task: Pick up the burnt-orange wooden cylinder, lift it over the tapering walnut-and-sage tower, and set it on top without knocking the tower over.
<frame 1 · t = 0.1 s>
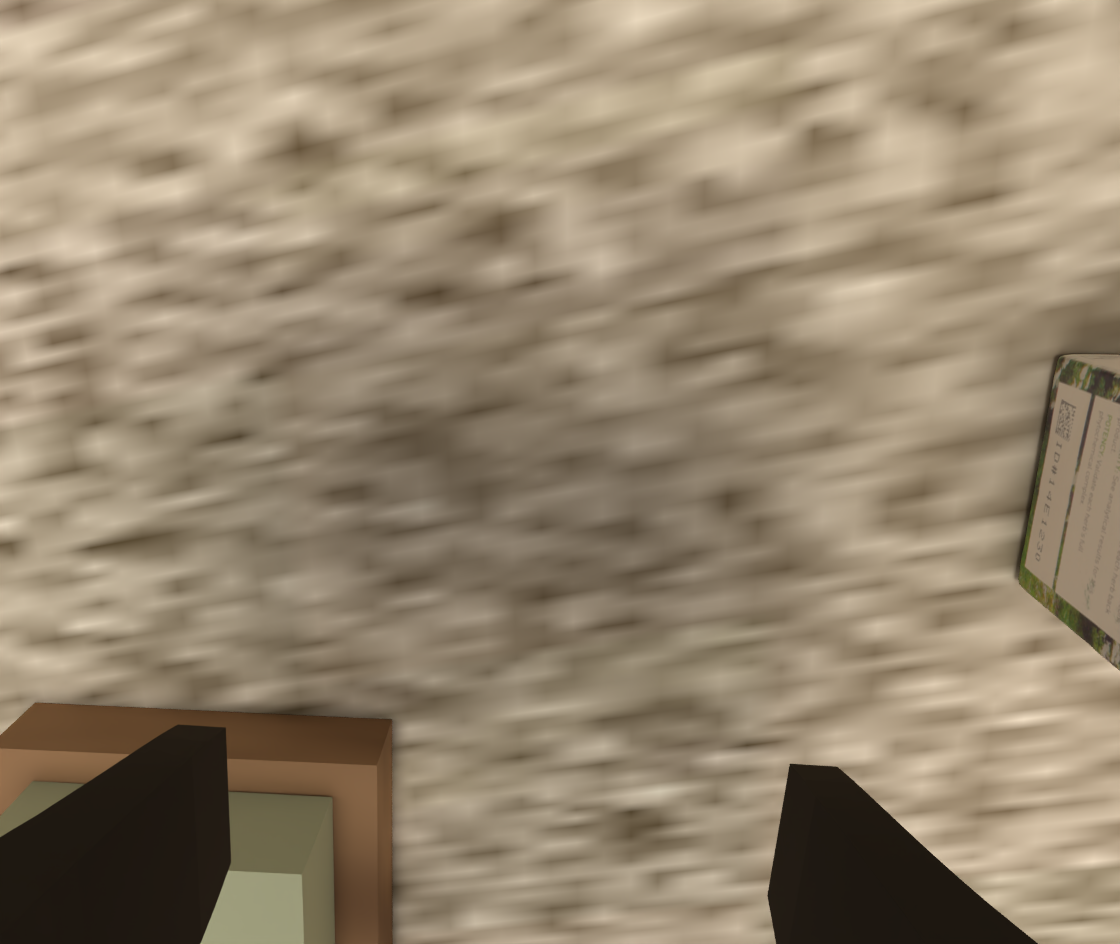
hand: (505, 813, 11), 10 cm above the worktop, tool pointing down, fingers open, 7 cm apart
walnut base block: (231, 844, 24), on the worktop, touching sage top block
sage top block: (192, 910, 22), point 2 cm above the worktop, touching walnut base block
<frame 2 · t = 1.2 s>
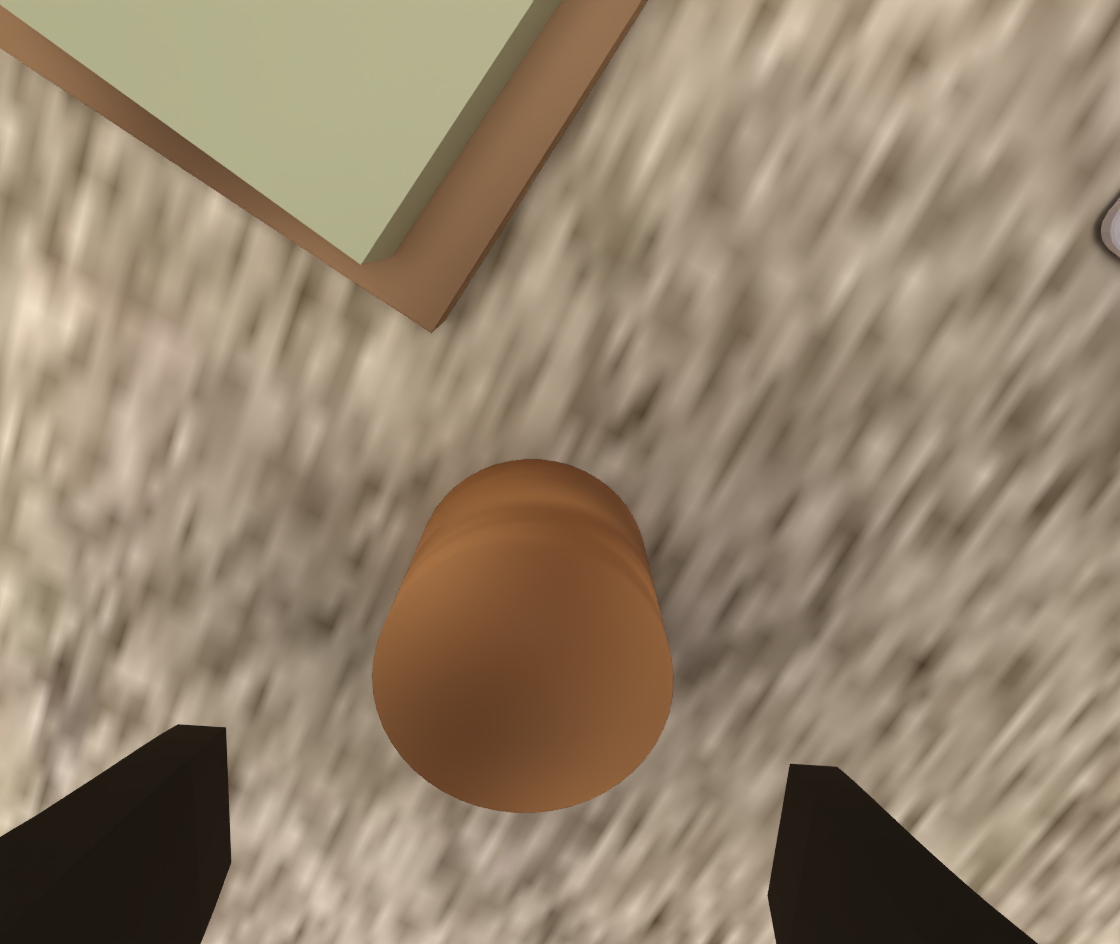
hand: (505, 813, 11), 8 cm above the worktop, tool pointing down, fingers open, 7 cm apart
orange cylinder: (532, 567, 19), on the worktop
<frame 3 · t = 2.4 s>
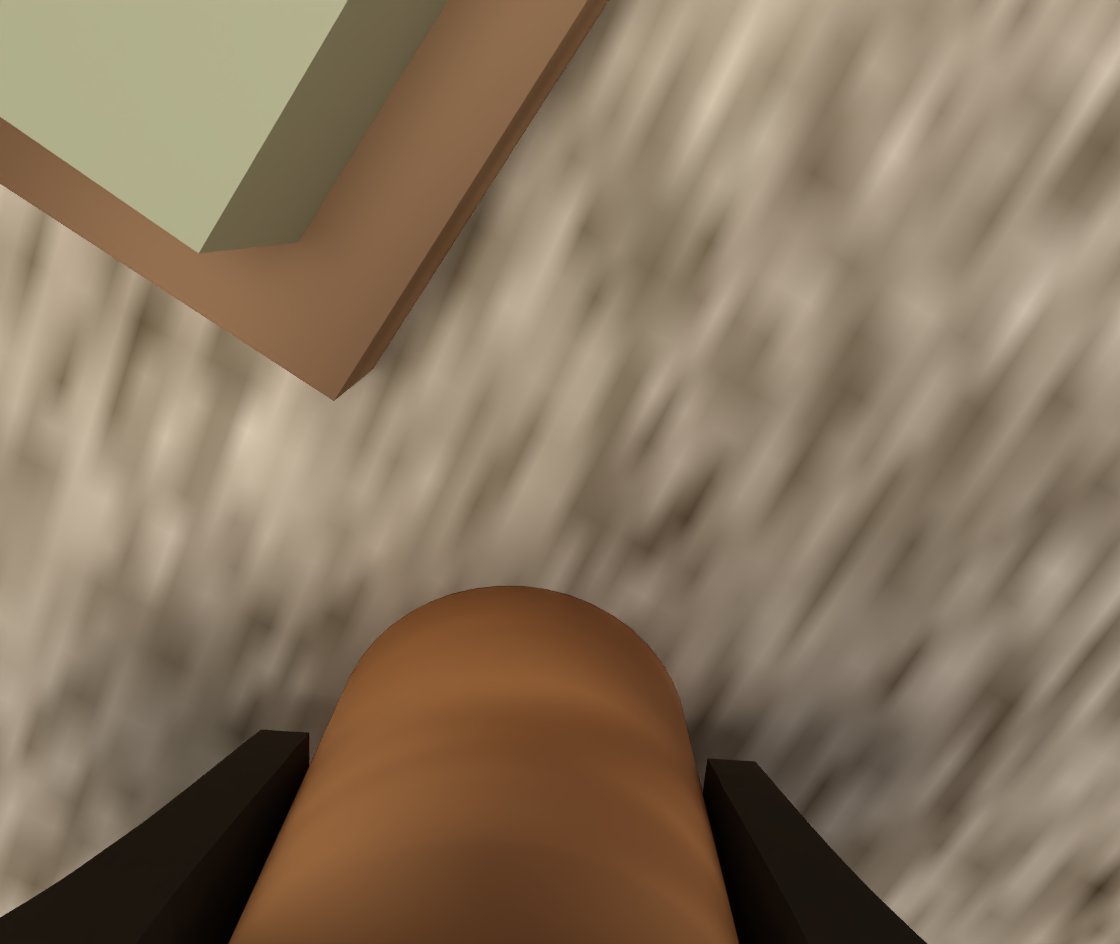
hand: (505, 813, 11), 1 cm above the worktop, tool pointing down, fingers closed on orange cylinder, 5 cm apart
orange cylinder: (511, 747, 13), on the worktop, touching gripper
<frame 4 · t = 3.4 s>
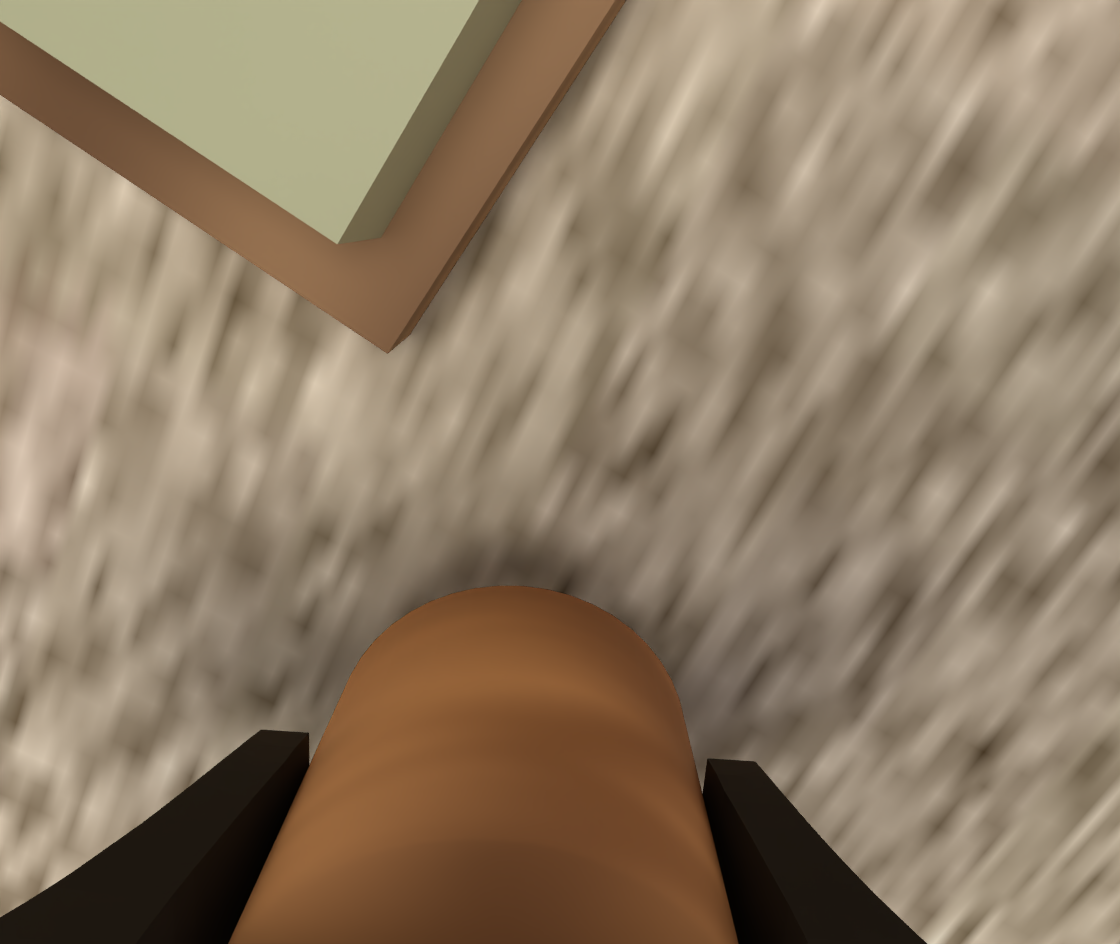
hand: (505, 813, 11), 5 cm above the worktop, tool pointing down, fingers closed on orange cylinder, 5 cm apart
orange cylinder: (511, 746, 13), point 3 cm above the worktop, touching gripper
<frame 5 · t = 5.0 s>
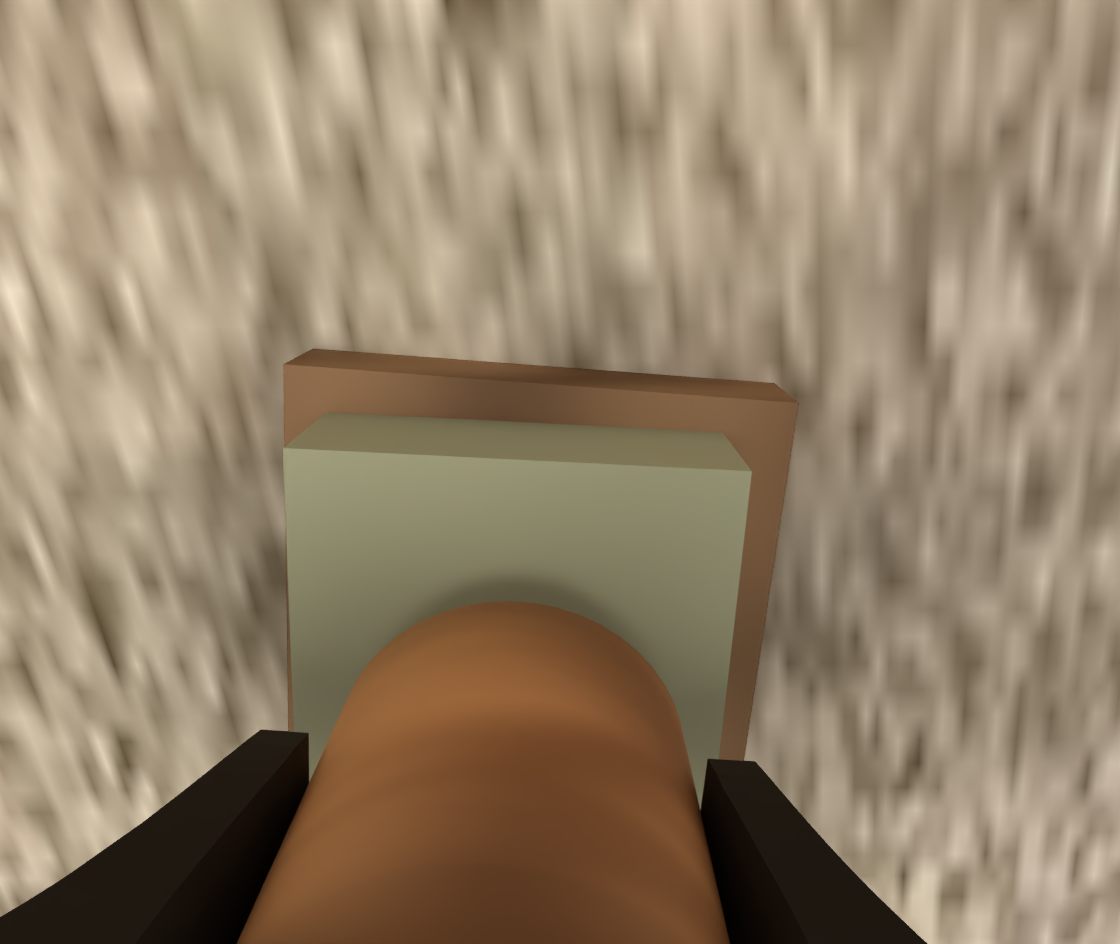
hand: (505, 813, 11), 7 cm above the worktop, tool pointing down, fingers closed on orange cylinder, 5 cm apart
walnut base block: (530, 567, 19), on the worktop, touching sage top block
sage top block: (517, 604, 16), point 2 cm above the worktop, touching walnut base block
orange cylinder: (510, 760, 13), point 6 cm above the worktop, touching gripper
when the fingers open (7 cm above the worktop, at t = 5.5 s): orange cylinder drops 2 cm, resting on sage top block.
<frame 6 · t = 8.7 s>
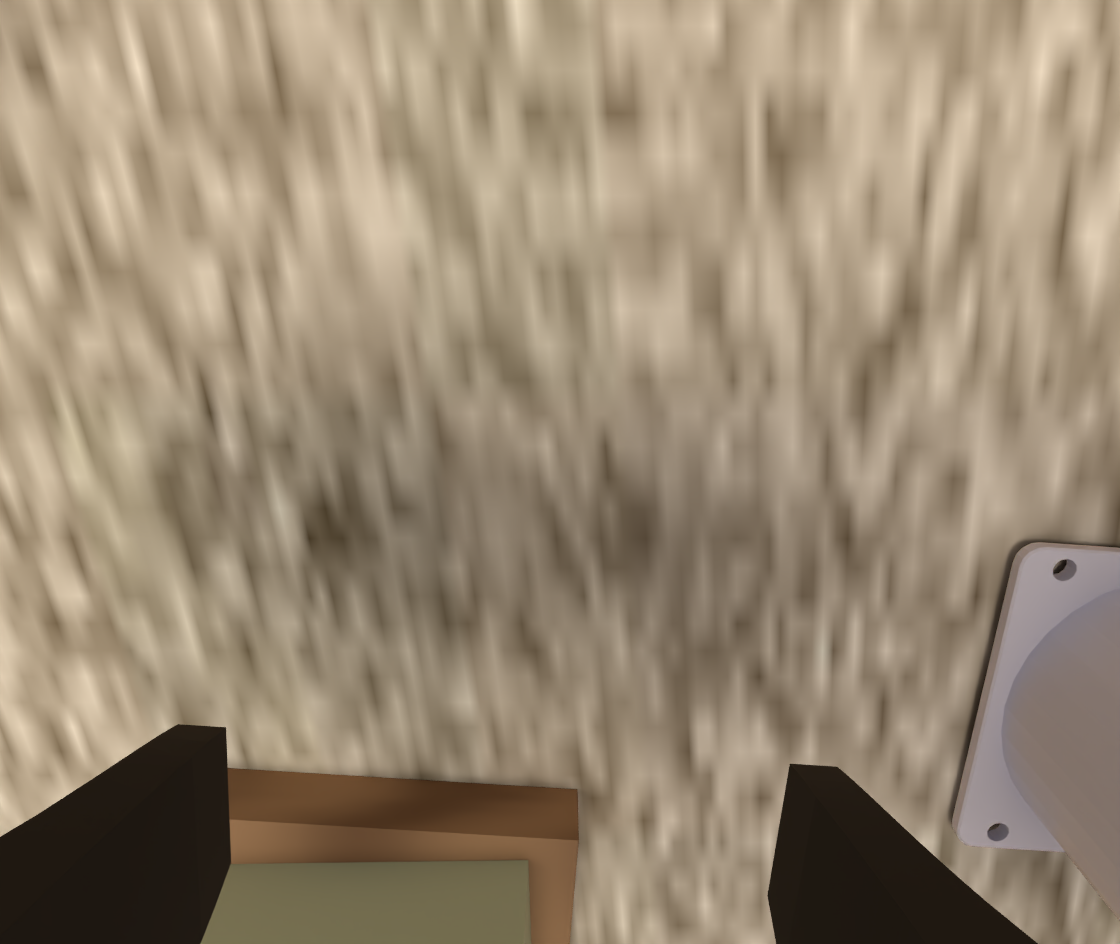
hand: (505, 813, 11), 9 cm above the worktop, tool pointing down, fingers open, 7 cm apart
walnut base block: (399, 906, 24), on the worktop, touching sage top block
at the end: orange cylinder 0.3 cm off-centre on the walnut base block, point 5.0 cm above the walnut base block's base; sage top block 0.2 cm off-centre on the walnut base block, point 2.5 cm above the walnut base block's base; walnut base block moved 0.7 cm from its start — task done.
